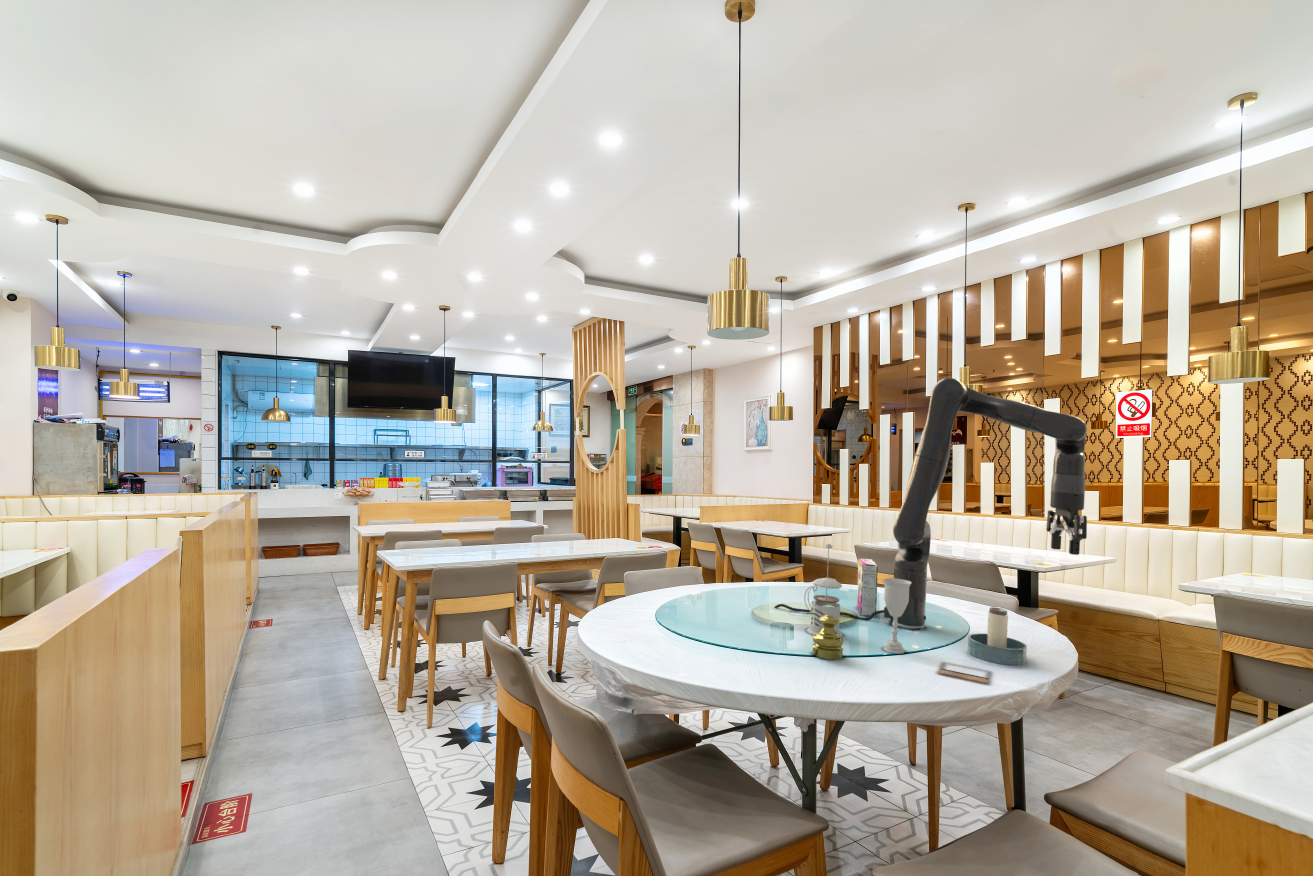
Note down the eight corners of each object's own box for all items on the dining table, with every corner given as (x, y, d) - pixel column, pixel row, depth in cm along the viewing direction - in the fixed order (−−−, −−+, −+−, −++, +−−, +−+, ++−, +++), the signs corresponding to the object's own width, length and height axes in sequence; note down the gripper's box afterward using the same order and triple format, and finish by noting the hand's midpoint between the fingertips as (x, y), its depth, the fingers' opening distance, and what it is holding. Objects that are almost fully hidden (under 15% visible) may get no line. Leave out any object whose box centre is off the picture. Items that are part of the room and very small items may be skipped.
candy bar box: (855, 607, 206) (857, 558, 206) (871, 608, 205) (873, 559, 205) (859, 615, 195) (862, 563, 195) (876, 617, 194) (878, 565, 194)
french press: (829, 640, 167) (834, 547, 167) (794, 629, 175) (798, 541, 176) (849, 634, 173) (853, 545, 174) (814, 624, 182) (818, 539, 182)
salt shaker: (848, 656, 154) (849, 616, 154) (834, 662, 148) (836, 621, 148) (821, 648, 159) (822, 609, 159) (806, 654, 153) (808, 614, 154)
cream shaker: (986, 656, 157) (988, 609, 158) (987, 652, 161) (988, 606, 161) (1005, 660, 155) (1007, 612, 155) (1006, 656, 159) (1008, 609, 159)
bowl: (965, 659, 156) (966, 641, 156) (969, 647, 167) (970, 630, 167) (1025, 671, 149) (1026, 652, 149) (1025, 657, 160) (1026, 640, 161)
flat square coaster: (938, 674, 144) (938, 672, 144) (943, 662, 153) (943, 661, 153) (987, 684, 139) (987, 682, 139) (989, 672, 148) (989, 670, 148)
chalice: (894, 656, 156) (897, 584, 156) (873, 647, 162) (876, 579, 162) (914, 653, 159) (917, 583, 160) (893, 645, 165) (896, 577, 166)
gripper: (1038, 488, 172) (1035, 546, 172) (1068, 492, 158) (1065, 555, 158) (1067, 490, 172) (1064, 548, 172) (1099, 494, 158) (1096, 557, 157)
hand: (1064, 551), depth 165 cm, fingers open, 8 cm apart
